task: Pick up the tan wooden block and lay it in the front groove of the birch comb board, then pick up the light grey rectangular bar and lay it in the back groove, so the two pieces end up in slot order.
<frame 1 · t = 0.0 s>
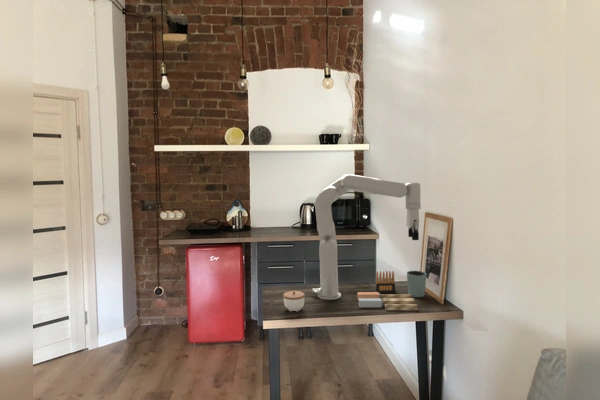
hand: (413, 238, 198), 31 cm above the table, tool pointing down, fingers open, 9 cm apart
tan wooden block: (368, 300, 198), on the table
ammunition clip: (385, 292, 210), on the table
green plant pot: (416, 295, 203), on the table
comb board: (398, 304, 189), on the table
light grey rectangular bar: (370, 306, 188), on the table
lidded jar: (294, 309, 186), on the table
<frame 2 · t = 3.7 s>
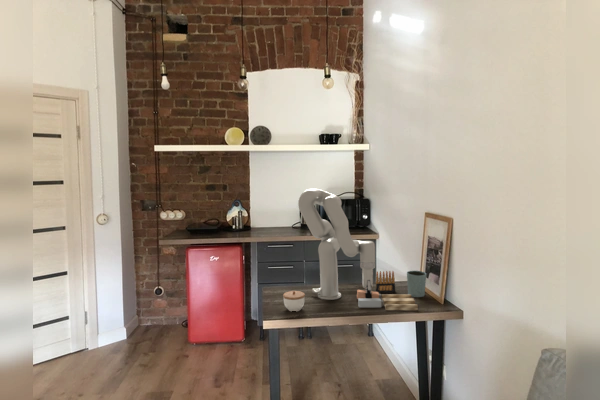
hand: (368, 298, 198), 0 cm above the table, tool pointing down, fingers closed on tan wooden block, 3 cm apart
tan wooden block: (367, 298, 198), on the table, tilted 7°, touching gripper
everything else where it was.
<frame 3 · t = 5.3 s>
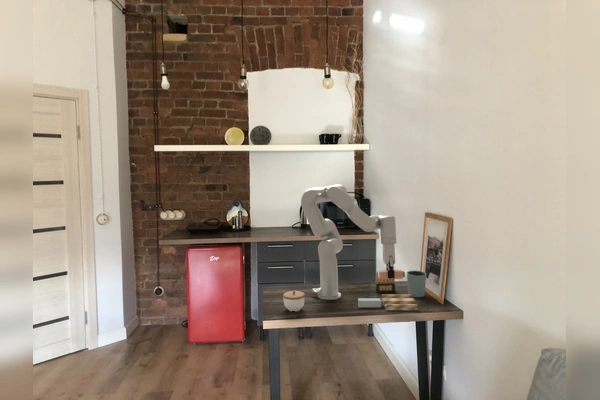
hand: (390, 276, 188), 14 cm above the table, tool pointing down, fingers closed on tan wooden block, 3 cm apart
tan wooden block: (390, 278, 188), point 14 cm above the table, touching gripper
everything else where it was.
when the fingers open (4 cm above the table, at t = 7.0 s): tan wooden block drops 2 cm, resting on comb board.
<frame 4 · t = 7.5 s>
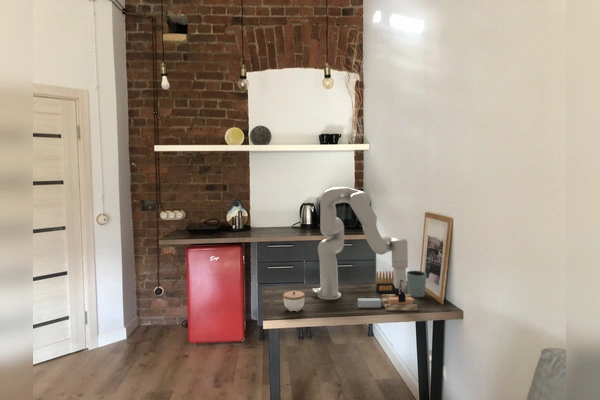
hand: (400, 298, 184), 4 cm above the table, tool pointing down, fingers open, 8 cm apart
tan wooden block: (400, 305, 184), point 1 cm above the table, touching comb board
everything else where it was.
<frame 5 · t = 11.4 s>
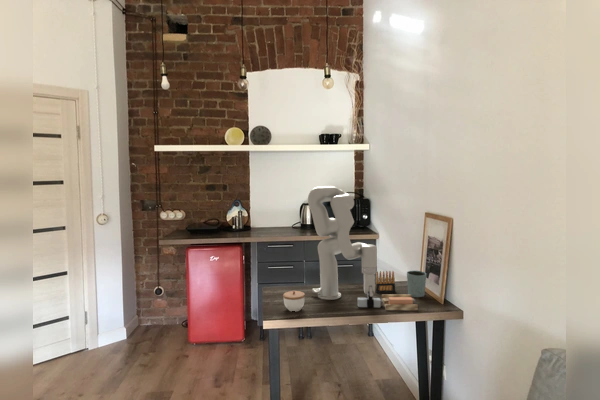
hand: (370, 305, 188), 0 cm above the table, tool pointing down, fingers closed on light grey rectangular bar, 3 cm apart
light grey rectangular bar: (368, 306, 188), on the table, touching gripper
everything else where it was.
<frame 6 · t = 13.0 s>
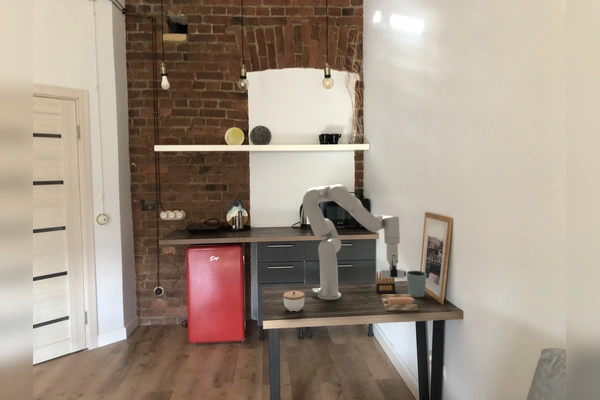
hand: (393, 275, 191), 14 cm above the table, tool pointing down, fingers closed on light grey rectangular bar, 3 cm apart
light grey rectangular bar: (392, 276, 191), point 13 cm above the table, touching gripper
everything else where it was.
when the fingers open (4 cm above the table, at t = 14.6 s): light grey rectangular bar drops 2 cm, resting on comb board.
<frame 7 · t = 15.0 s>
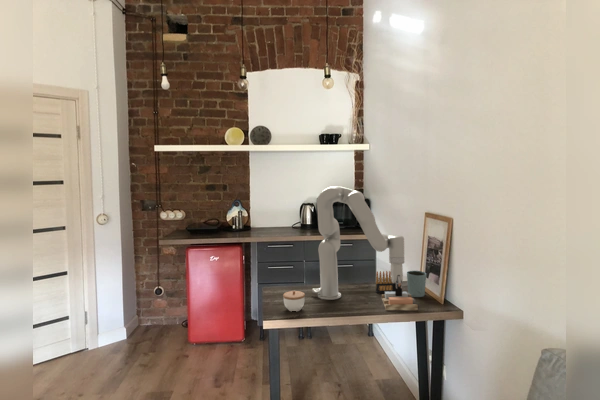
hand: (397, 293, 193), 4 cm above the table, tool pointing down, fingers open, 8 cm apart
light grey rectangular bar: (396, 299, 193), point 1 cm above the table, touching comb board
everything else where it was.
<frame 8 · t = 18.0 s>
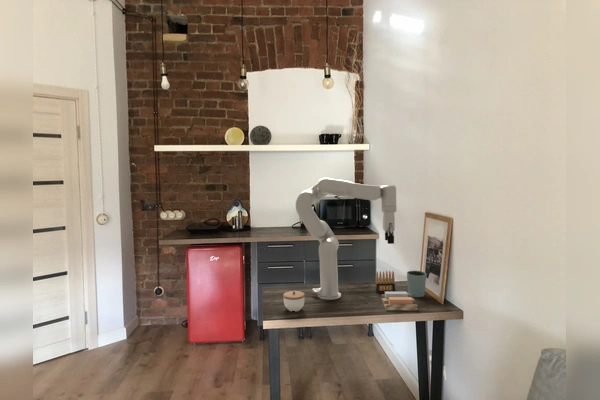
hand: (389, 241, 196), 30 cm above the table, tool pointing down, fingers open, 9 cm apart
nothing on the table moved.
at the end: tan wooden block inside the target area on the comb board (0.1 cm from its centre), point 1.0 cm above the comb board's base; light grey rectangular bar inside the target area on the comb board (0.6 cm from its centre), point 1.0 cm above the comb board's base; the gripper is holding nothing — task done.
